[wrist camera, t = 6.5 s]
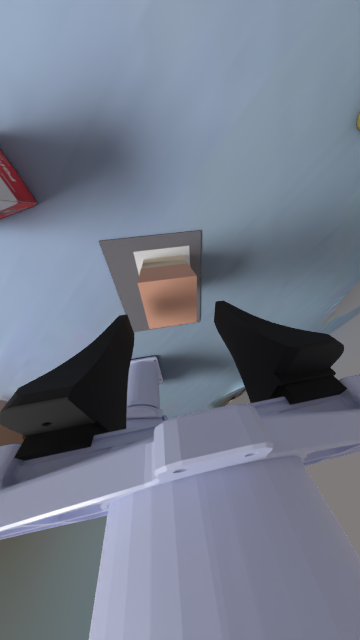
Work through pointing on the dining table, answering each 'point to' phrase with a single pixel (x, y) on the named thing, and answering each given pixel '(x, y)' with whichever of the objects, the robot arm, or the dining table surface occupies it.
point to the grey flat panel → (129, 258)
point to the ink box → (12, 190)
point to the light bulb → (358, 122)
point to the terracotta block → (168, 295)
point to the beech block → (163, 261)
